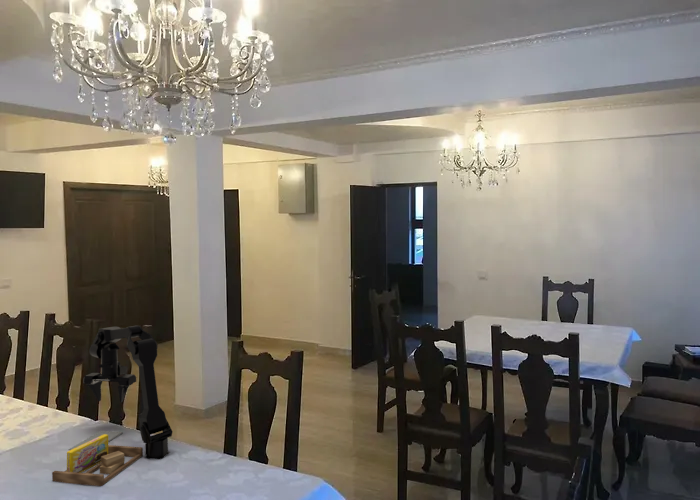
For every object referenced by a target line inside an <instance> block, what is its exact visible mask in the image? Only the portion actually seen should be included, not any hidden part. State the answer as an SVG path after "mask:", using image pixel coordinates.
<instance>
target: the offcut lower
mask: <svg viewBox="0 0 700 500" xmlns="http://www.w3.org/2000/svg"><path fill="white" fill-rule="evenodd" d="M124 464H125V461H123V462H121V463H118V464H115V465H112V466H109V467H105V466H103V465H102V466H100V468H99V474H103V475H110V474H111V473H112V472H114V471H115V470H117V469H118V468H119V467H121V466H122V465H124Z"/></svg>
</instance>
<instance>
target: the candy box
mask: <svg viewBox="0 0 700 500" xmlns="http://www.w3.org/2000/svg"><path fill="white" fill-rule="evenodd" d="M108 445H109V442H108V435H106V434H103V435H101V436H99V437H97V438H95V439H93V440H91V441H89V442H87V443H85V444H82V445H80V446H78V447H76V448H74V449H72V450H67V451H66V470H67V472H78V473H84V472H86V471H88V469H89V470H90V469H92V468H93V467H95V466H96V465H98V464H99V463H101V456H104V455H107V454H108Z"/></svg>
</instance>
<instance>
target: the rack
mask: <svg viewBox="0 0 700 500" xmlns="http://www.w3.org/2000/svg"><path fill="white" fill-rule="evenodd" d="M143 449H144V447H143V446H142V447H141V446H128V445H116V444H115V445H113V444H108V454H110V453H113V452H116V451H120V452H122V453H124V457H128V458H129V457H130V459H129V460H128V461H126V462H124V465H122V466H121V467H119V468H118V469H117V470H115V471H114V472H112V473H111V474H107V476H105V474H100V473H95V472H96V471H98V470H100V466H102V465H101V462H100V463H98V464H96V465H94V466H93V467H91V468H89V470H86V471H85V472H81V473H78V472H67V469H66V470H64V471H63V470H54V471H52V472H51V477H52V478H51V479H52V482H56V483H57V482H58V483H63V484H64V483H66V484H73V485H83V486H85V485H86V486H95V487H96V486H97V487H103V486H104V485H105V484H107V483H108V482H109V481H111V480H112V479H113V478H115V477H116V476H117V475H118V474H121V473H122V472H123V471H124V470H125V469H127V468H128V467H129V466H131V465H133V463H135V462H136V461H138V460H139V459H141V458H142V457H143V453H144V452H143V451H144V450H143Z"/></svg>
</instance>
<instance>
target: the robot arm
mask: <svg viewBox="0 0 700 500" xmlns="http://www.w3.org/2000/svg"><path fill="white" fill-rule="evenodd" d="M97 331H98V332H97V333H96V335H95V338H94V339H93V342H92V344H91V345H90V348H89V349H88V350H89V351H88V352H89V355H90V356H92V357H94V358H97V359H100V363H99V364H98V368H101V369H100V371H101V373H100V372H91V373H89V374H86V375H85V376H84V377H83V384H85V385H86V386H87V387H88V388H89V389H90V390H91V392H92V393H93V395H94V397H95V398H96V400H97V401H98V402H101V400H102V384H103V382H111V383H114V382H115V383H117V384H119V385H117V391H118V399H119V402H120V403H123V402H124V399H125V397H126V394H127V391H128V388H129V387H130V386H131V385H133V384H134V383H136V382H137V376H136V375H135V374H127V372H128V366H125V365H121V362H120V361H118V360H119V358H118V356H119V355H118V350H120V346H119V345H117V342H119V341H120V340H122V339H126V348H127V349H128V351H129V352H130V354H131V358H132V360H133V362H134V363H135V364H136V365H137V366H138V373H139V380H140V387H141V388H140V390H141V395H142V396H141V397H142V404H143V410H142V411H141V413H139V414H138V419H139V420H138V421H139V431H140V436H141V437H140V438H141V441H142V442H143V444H144V447H145V448H144V449H145V456H144V457H143V459H149V460H151V459H152V460H162V459H164V458H165V457H166V456H168V455H170V453H171V451H169V438H171V437H172V436H173V430H172V427H171V426H170V424H169V421H168V419H167V417H166V413H165V411H164V410H163V409H162V408H161V406H160V404H159V396H158V388H157V380H156V373H155V372H156V371H155V365H154V364H155V363H156V362H155V361H156V360H157V358H158V347H159V346H158V343H157V341H156V339H155V338H154V337H153V335H152V334H151V333H149V332H147V331H145V330H144V329H143V328H142V327H141V325H133V326H131V325H130V326H127V327H122V328H121V327H119V326H116V325H115V326H110V327H103V328H98V330H97ZM137 337H138V338H139V340H134V341H133V340H132V338H133V339H134V338H137Z"/></svg>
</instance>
